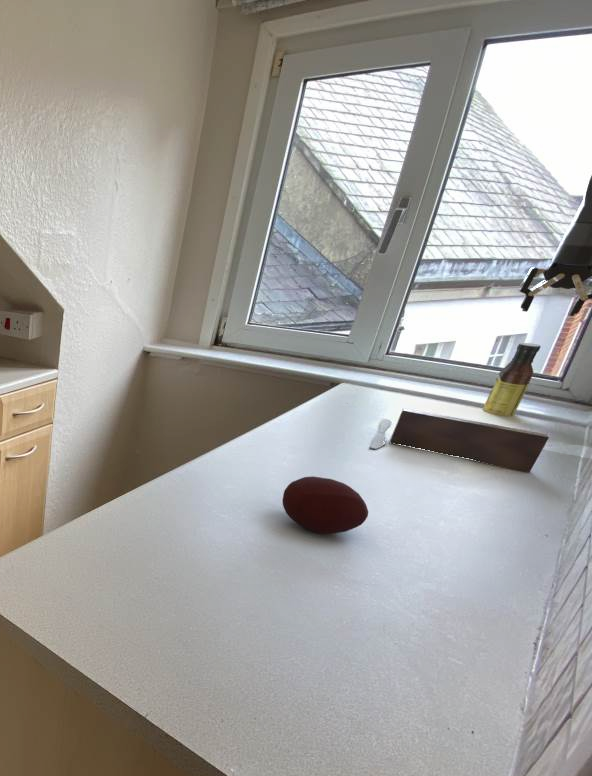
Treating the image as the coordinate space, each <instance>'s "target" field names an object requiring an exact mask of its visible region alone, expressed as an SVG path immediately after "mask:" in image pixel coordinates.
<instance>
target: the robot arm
mask: <svg viewBox="0 0 592 776" xmlns="http://www.w3.org/2000/svg"><path fill="white" fill-rule="evenodd" d="M541 274H542V275H543V277H544V280H542V281H541V282H539V283H537V284H536V285H535V286H534V287H533V288H530V285H531V284H532V283H533V281H534V279H535V278H538V277H539V276H540V275H541ZM590 278H592V171H591V173H590V175H589V178H588V181H587V184H586V187H585V190H584V195H583V200H582V202H581V204H580V206H579V208H578V209H577V212H576V214H575V216H574V218H573V219H572V222H571V223H570V225H569V227H568V228H567V229H566V231H565V233H564V235H563V237H562V238H561V240H560V243H559V245H558V247H557V249H556V251H555V253H554V255H553V258H552V259H551V261H550V263H549V265H548V266H547V267H546V268H539V267H534V266H533V267H531V268H529V270H528V271H527V273H526V275H525V277H524V279H522V281H521V284H520V286H519V287H518V292H519V293H522V294H524V295H525V296H524V298H523V299H522V302H521V305H520V309H521V311H522V312H528V311H529V309H530V307H531V305H532V303H533V301H534V299H535V295H537V294H538V293H540V292H541V291H544V290H545V289H547V288H552V289H564V290H571V289H573V292H574V293H575V295H576V297H577V299H575V300H574V301H573V303H572V305H571V307H570V308H569V311H568V313H567V316H569V317H573V316H575V315H577V314H579V313H580V311H581V310H582V308H583V306H584V304H585V302H587V301H588V300H592V290H590V292H589V293H587V292H586V288H585V286H584V284H583V283H584V282H586V281H587V280H589V279H590Z"/></svg>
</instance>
